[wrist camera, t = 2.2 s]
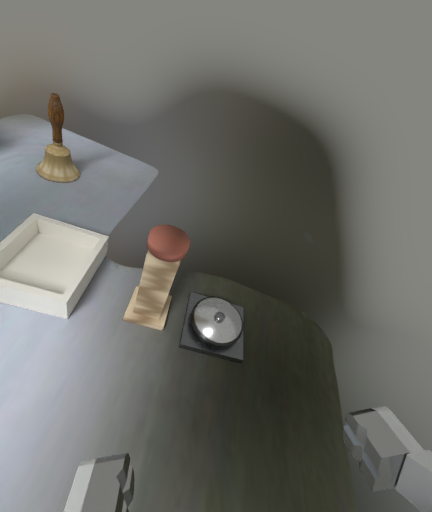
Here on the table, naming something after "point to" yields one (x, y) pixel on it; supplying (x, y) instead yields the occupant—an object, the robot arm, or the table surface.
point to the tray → (48, 265)
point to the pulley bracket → (213, 327)
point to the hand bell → (57, 149)
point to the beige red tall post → (157, 276)
